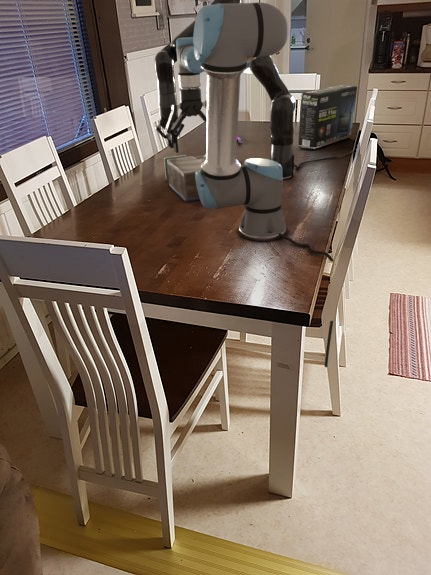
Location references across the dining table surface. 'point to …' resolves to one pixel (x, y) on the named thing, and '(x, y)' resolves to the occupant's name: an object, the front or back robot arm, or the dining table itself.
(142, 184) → the dining table surface
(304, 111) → the router box
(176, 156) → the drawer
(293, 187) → the dining table surface
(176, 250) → the dining table surface
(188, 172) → the small box
